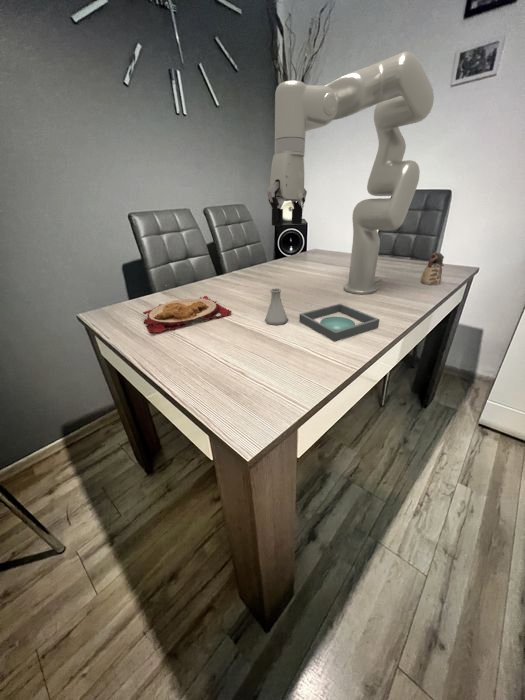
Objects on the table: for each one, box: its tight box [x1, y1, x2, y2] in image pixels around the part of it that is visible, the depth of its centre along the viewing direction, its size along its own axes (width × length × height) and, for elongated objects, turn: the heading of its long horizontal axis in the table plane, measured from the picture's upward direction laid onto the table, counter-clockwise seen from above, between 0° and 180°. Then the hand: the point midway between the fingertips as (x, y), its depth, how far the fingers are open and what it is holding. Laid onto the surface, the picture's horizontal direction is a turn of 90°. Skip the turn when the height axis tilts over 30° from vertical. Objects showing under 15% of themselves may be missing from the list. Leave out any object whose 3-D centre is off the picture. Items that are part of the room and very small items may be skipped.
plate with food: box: [142, 295, 232, 334], centre depth 94 cm, size 25×26×4 cm
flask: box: [264, 287, 289, 326], centre depth 83 cm, size 7×7×10 cm
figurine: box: [420, 252, 445, 286], centre depth 109 cm, size 7×7×12 cm
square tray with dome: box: [298, 303, 380, 342], centre depth 80 cm, size 16×16×2 cm
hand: (287, 224), depth 76 cm, fingers open, 9 cm apart
